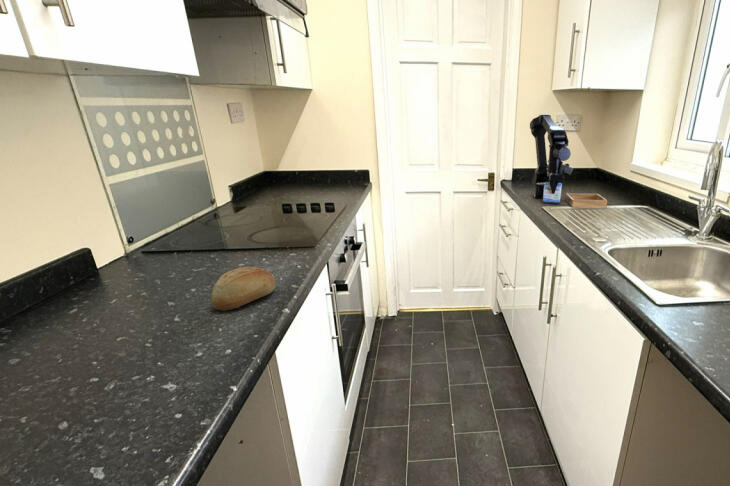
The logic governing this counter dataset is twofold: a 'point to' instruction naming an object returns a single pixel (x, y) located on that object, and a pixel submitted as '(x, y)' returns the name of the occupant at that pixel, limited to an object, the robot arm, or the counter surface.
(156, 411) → the counter surface
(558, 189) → the medicine box
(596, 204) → the wooden tray
